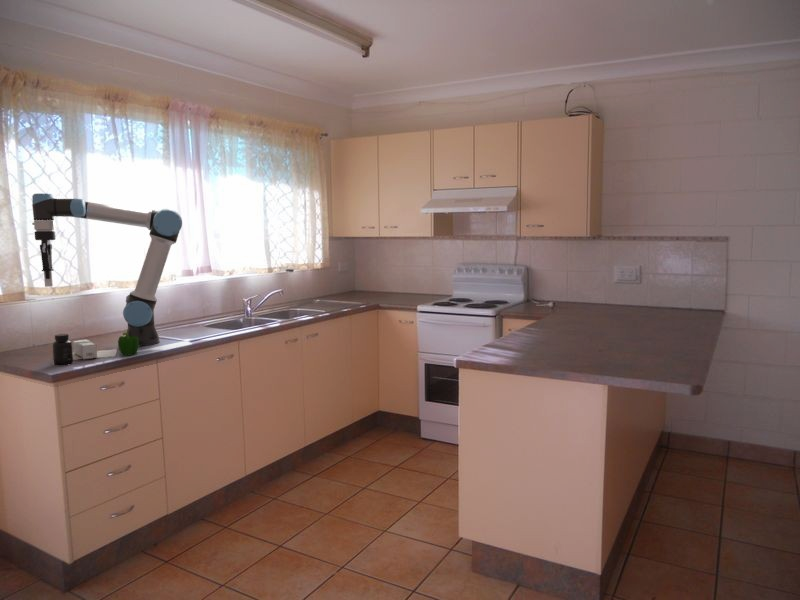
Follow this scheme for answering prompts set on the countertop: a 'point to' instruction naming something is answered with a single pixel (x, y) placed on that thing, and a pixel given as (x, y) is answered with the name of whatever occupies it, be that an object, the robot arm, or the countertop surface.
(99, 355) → the mat
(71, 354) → the supplement bottle
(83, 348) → the syrup box
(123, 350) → the bell pepper
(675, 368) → the countertop surface
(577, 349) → the countertop surface
